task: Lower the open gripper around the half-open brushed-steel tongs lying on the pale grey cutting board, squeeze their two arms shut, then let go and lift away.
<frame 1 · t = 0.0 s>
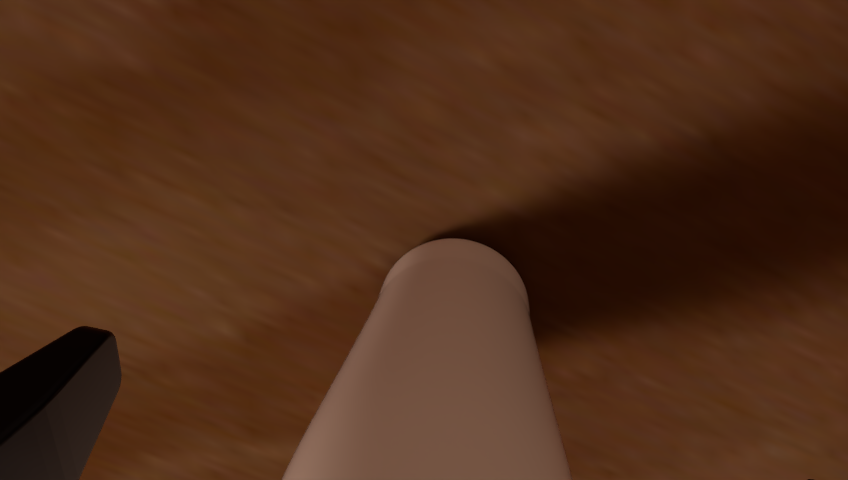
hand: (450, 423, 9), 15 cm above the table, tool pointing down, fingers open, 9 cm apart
drinking glass: (455, 297, 26), on the table
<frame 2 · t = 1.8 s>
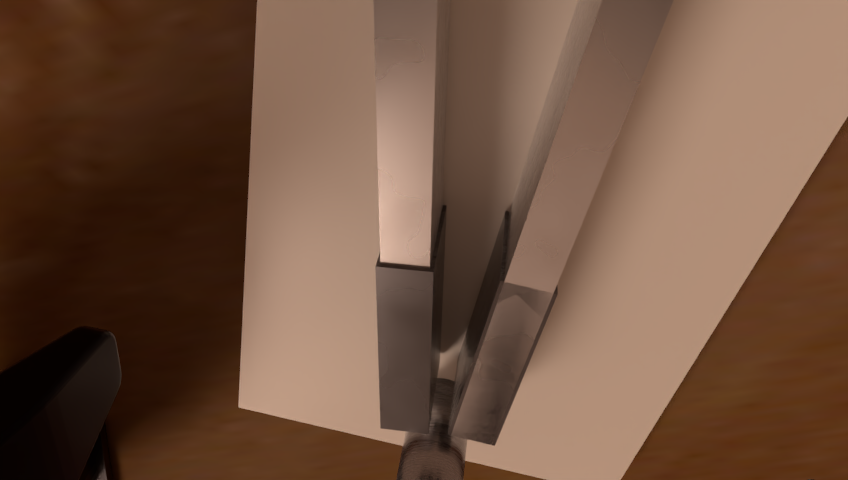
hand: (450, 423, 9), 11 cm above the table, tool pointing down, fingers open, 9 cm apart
tongs moving arm: (386, 169, 17), point 3 cm above the table, hinge at 10.0°
cutting board: (508, 175, 20), on the table
tongs fixed arm: (445, 376, 25), resting on cutting board
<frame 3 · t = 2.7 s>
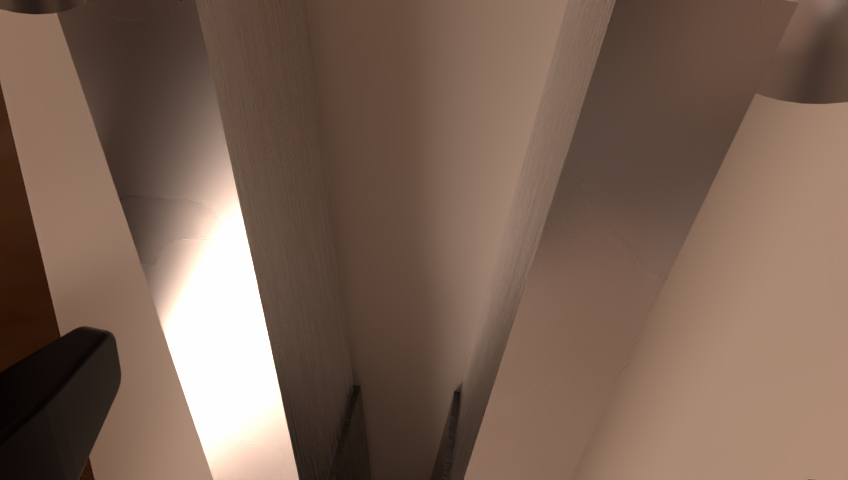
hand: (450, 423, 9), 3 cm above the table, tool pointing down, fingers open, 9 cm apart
tongs moving arm: (235, 365, 10), point 3 cm above the table, hinge at 10.0°
cutting board: (459, 328, 13), on the table
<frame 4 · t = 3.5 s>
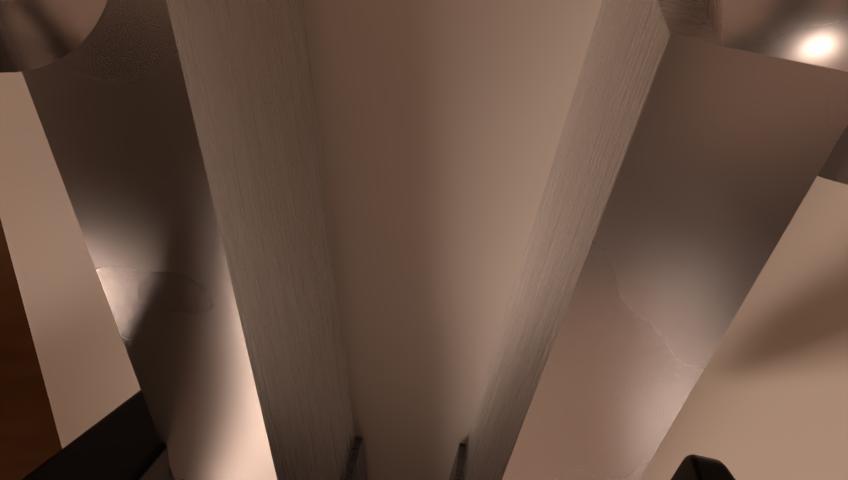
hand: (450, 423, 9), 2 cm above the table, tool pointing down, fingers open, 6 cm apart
tongs moving arm: (228, 425, 9), point 3 cm above the table, hinge at 9.7°, touching gripper
cutting board: (465, 374, 12), on the table
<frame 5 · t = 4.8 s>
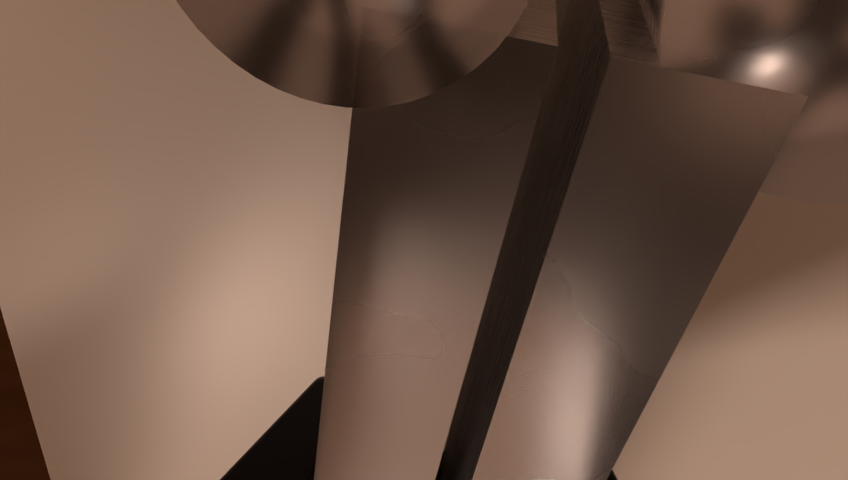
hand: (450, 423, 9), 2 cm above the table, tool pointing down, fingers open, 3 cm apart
tongs moving arm: (331, 443, 9), point 3 cm above the table, hinge at -0.3°, touching gripper
cutting board: (444, 382, 12), on the table
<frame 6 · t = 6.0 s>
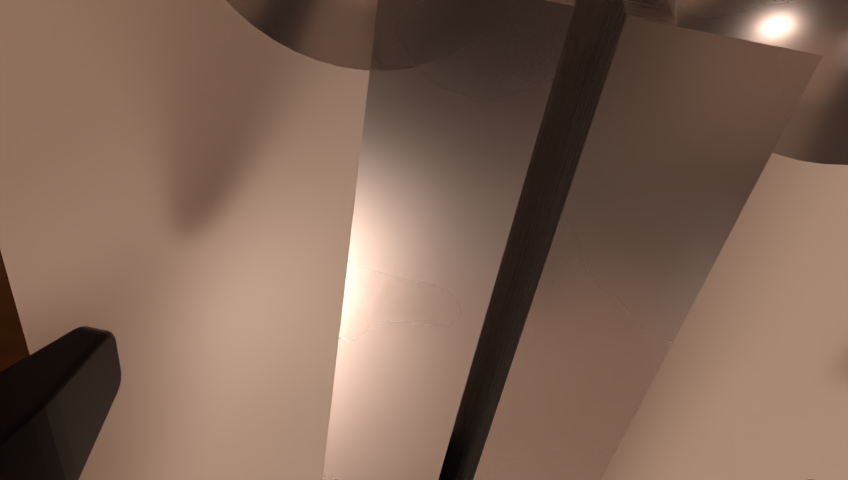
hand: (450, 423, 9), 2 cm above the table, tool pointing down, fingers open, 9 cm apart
tongs moving arm: (341, 420, 9), point 3 cm above the table, hinge at -0.3°
cutting board: (451, 363, 12), on the table
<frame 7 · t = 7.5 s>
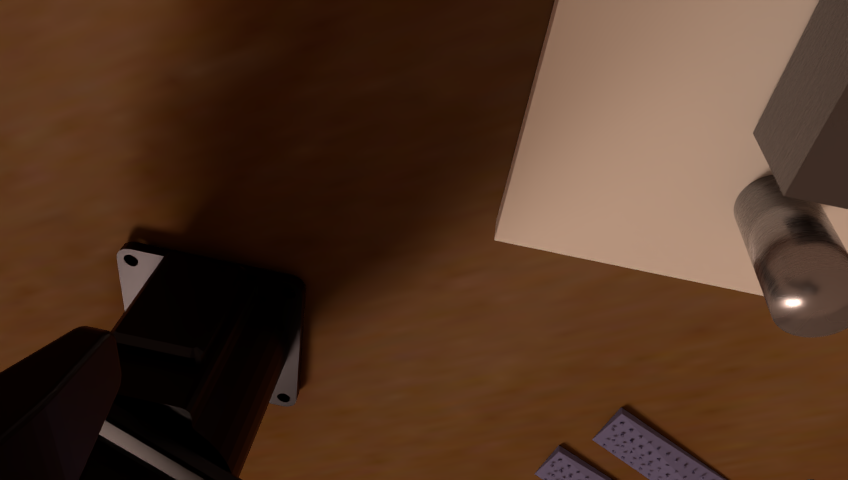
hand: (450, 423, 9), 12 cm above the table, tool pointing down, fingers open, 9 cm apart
tongs fixed arm: (764, 186, 20), resting on cutting board
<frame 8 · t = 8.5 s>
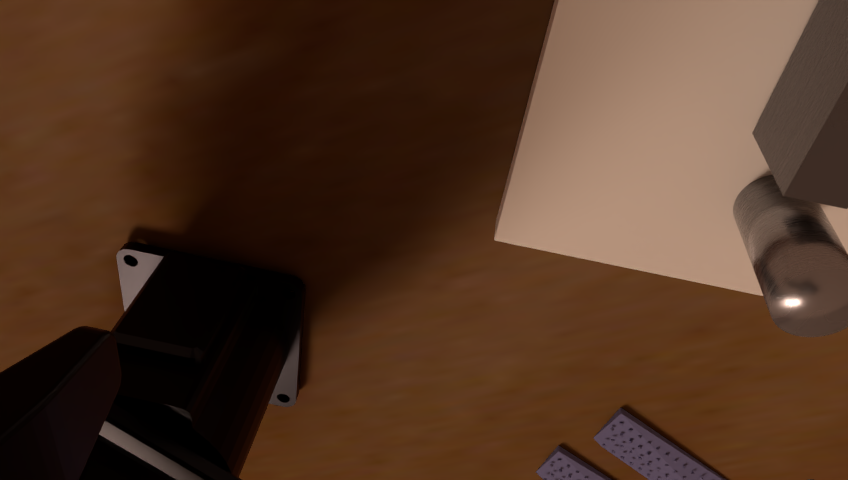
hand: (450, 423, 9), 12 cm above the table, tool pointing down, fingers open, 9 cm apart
tongs fixed arm: (763, 186, 20), resting on cutting board
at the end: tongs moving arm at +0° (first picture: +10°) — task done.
